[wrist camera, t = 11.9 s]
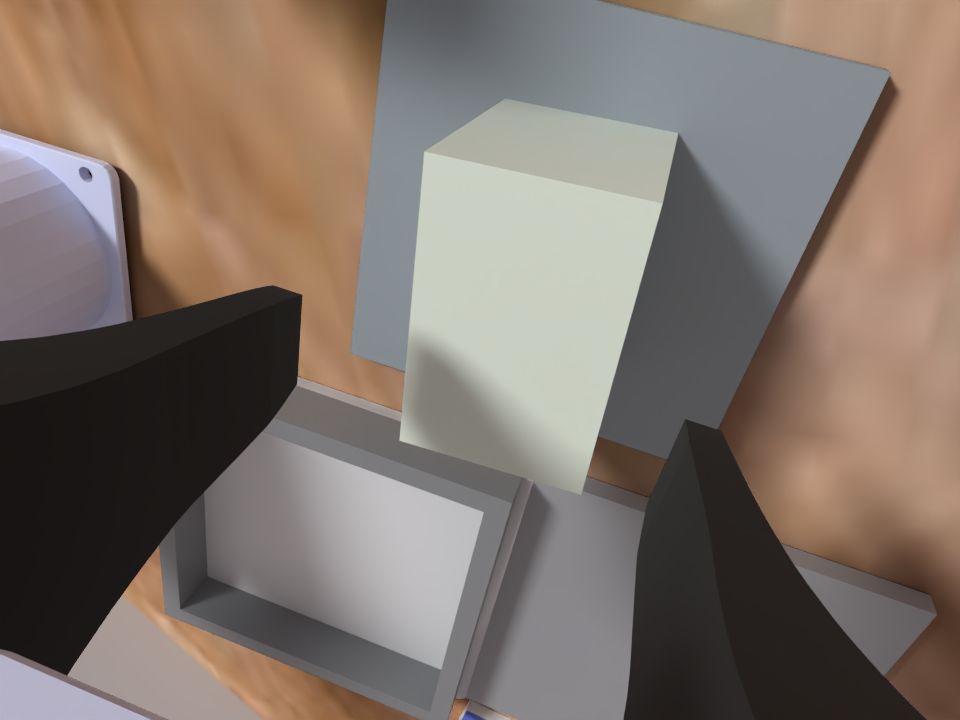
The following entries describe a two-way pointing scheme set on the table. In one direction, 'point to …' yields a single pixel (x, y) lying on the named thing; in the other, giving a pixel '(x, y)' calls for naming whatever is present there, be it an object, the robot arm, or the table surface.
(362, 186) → the table surface
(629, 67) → the slate mat
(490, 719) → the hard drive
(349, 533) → the equipment case
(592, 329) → the block
